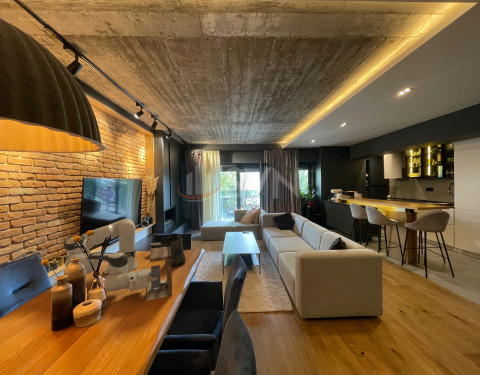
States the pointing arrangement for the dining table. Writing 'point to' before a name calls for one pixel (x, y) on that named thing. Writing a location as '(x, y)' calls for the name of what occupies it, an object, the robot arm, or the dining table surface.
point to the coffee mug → (155, 245)
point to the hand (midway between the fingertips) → (157, 275)
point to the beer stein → (175, 249)
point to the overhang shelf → (166, 285)
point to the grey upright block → (155, 272)
